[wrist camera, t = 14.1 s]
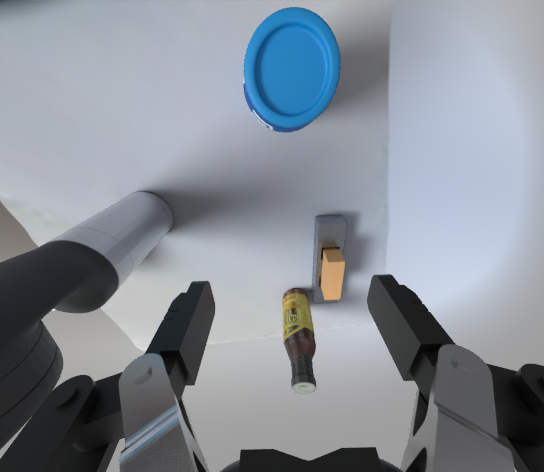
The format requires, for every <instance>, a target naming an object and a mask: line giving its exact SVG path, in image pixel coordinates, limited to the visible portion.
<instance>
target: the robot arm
mask: <svg viewBox="0 0 544 472" xmlns="http://www.w3.org/2000/svg"><path fill="white" fill-rule="evenodd" d="M172 225H173V214H172V212H171V209H170V208H169V206H168V205H167V204H166V203H165V201H164V200H162V199H161V198H160V197H158V196H156V195H154V194H152V193H148V192H136V193H133V194H131V195H129V196H127V197H126V198H124V199H122V200H120V201H118V202H117V203H115V204H113V205H111V206H110V207H108V208H106V209H104V210H103V211H101V212H99V213H97V214H96V215H94V216H92V217H91V218H89V219H87V220H85V221H84V222H82V223H80V224H78V225H77V226H75V227H73V228H71V229H70V230H68V231H66V232H65V233H63V234H61V235H60V236H58V237H56V238H54V239H53V240H51V241H49V242H47V243H46V244H44V245H42V246H40V247H39V248H37V249H35V250H32V251H30V252H27V253H24V254H21V255H19V256H16V257H14V258H11V259H8V260H6V261H3V262H1V263H0V449H1V448H2V447H3V446H4V445H5V444H6V443H7V442H8V441H9V440H10V439H11V438H12V437H13V436H14V435H15V434H16V433H17V432H18V431H19V430H20V429H21V428H22V426H24V424H25V423H26V422H27V421H28V420H29V419H30V418H31V419H30V420H29V421H28V423H27V424H26V425H25V427H24V428H23V429H22V431H21V432H20V433H19V435H18V436H17V438H16V439H15V440H14V441H13V443H12V444H11V445H10V447H9V448H8V450H7V451H6V452H5V454H4V455H3V456H2V458H1V459H0V472H106V470H107V468H108V465H109V463H110V460H111V458H112V456H113V453H114V451H115V449H116V446H117V444H118V442H119V440H120V439H122V438H125V449H124V450H123V451H122V452H121V455H120V472H209V470H208V467H207V464H206V462H205V459H204V456H203V454H202V452H201V449H200V447H199V444H198V442H197V439H196V436H195V433H194V430H193V427H192V424H191V421H190V418H189V416H188V413H187V410H186V407H185V404H184V401H183V398H182V394H183V391H184V388H185V385H195V381H196V378H197V374H198V371H199V367H200V364H201V360H202V356H203V353H204V350H205V346H206V343H207V339H208V336H209V332H210V329H211V325H212V322H213V318H214V315H215V302H214V298H213V294H212V290H211V286H210V283H209V281H195V282H192V283H191V285H190V287H189V289H188V291H187V293H181V294H180V295H178V296H177V297H176V298H175V299H174V300H173V302H172V303H171V305H170V307H169V309H168V312H167V313H166V315H165V317H164V320H163V321H162V322H161V324H160V326H159V328H158V330H157V332H156V334H155V336H154V338H153V339H152V341H151V343H150V345H149V347H148V349H147V351H146V352H145V354H144V355H142V356H140V357H138V358H137V359H135V360H134V361H132V362H131V363H130V364H129V365H128V366H127V367H126V368H125V370H124V371H123V372H121V373H119V374H116V375H113V376H110V377H107V378H104V379H101V380H98V381H96V382H94V381H93V380H92V378H91V377H89V376H87V375H79V376H75V377H73V378H70V379H69V380H66V381H65V382H63V383H62V384H60V385H59V386H58V387H56V388H55V389H54V387H55V385H56V383H57V382H58V380H59V378H60V375H61V372H62V369H63V357H62V353H61V351H60V349H59V347H58V346H57V344H56V343H55V341H54V339H53V338H52V336H51V335H50V333H49V332H48V330H47V329H46V327H45V325H44V324H43V322H42V321H41V319H42V318H43V317H44V316H45V315H46V314H47V313H49V312H50V311H51V310H52V309H55V310H58V311H63V312H69V313H86V312H91V311H94V310H96V309H98V308H100V307H101V306H103V305H104V304H105V303H106V302H107V301H108V300H109V299H110V297H111V296H112V295H113V294H114V293H115V292H116V290H117V289H118V288H119V287H120V286H121V285H122V284H123V282H124V281H125V280H126V279H127V278H128V277H129V276H130V274H131V273H132V272H133V271H134V270H135V269H136V268H137V266H138V265H139V264H140V263H141V262H142V261H143V260H144V258H145V257H146V256H147V255H148V254H149V253H150V252H151V251H152V249H153V248H154V247H155V246H156V245H157V244H158V243H159V241H160V240H161V239H162V238H163V237H164V236H165V235H166V234H167V232H168V231H169V230H170V229H171V227H172ZM367 304H368V308H369V311H370V313H371V315H372V317H373V319H374V321H375V323H376V325H377V327H378V329H379V331H380V333H381V335H382V338H383V340H384V342H385V344H386V346H387V348H388V350H389V352H390V354H391V356H392V358H393V360H394V362H395V364H396V366H397V368H398V370H399V372H400V374H401V376H402V378H403V380H404V381H415V382H416V384H417V386H418V389H417V392H416V398H415V404H414V410H413V416H412V422H411V428H410V434H409V439H408V444H407V446H406V449H405V452H404V456H403V459H402V463H401V468H400V469H399V468H397V467H395V466H394V465H392V464H390V463H388V462H386V461H384V460H382V459H379V457H378V454H377V451H376V448H375V447H368V448H341V449H338V450H336V451H334V452H331V453H329V454H326V455H324V456H321V457H319V458H316V459H314V460H311V461H307V460H303V459H300V458H298V457H294V456H292V455H289V454H286V453H283V452H280V451H277V450H274V449H260V450H259V449H257V450H256V449H255V450H241V453H240V460H238V461H236V462H234V463H232V464H230V465H229V466H227V467H226V468H224V469H223V470H222V471H220V472H515V469H516V470H517V472H544V366H541V365H537V364H525V365H524V366H522V367H521V368H520V369H519V370H518V372H517V371H513V370H509V369H505V368H501V367H497V366H493V365H489V364H486V363H485V362H484V361H483V360H482V359H481V358H480V357H479V356H477V355H476V354H474V353H473V352H471V351H470V350H468V349H466V348H463V347H461V346H458V345H456V344H455V343H454V342H453V340H452V339H451V338H450V337H449V336H448V334H447V333H446V332H445V330H444V329H443V328H442V327H441V325H440V324H439V323H438V322H437V321H436V319H435V318H434V316H433V315H432V314H431V313H430V312H429V311H428V309H427V308H426V306H425V305H424V304H422V302H421V300H420V299H419V298H418V296H417V295H416V294H415V293H414V292H413V291H412V290H410V289H409V288H407V287H406V286H405V285H399V284H398V282H397V281H396V280H395V278H394V277H393V276H392V275H389V274H387V275H374V276H373V277H372V280H371V285H370V289H369V293H368V298H367ZM53 389H54V390H53ZM52 390H53V391H52ZM514 467H515V469H514Z"/></svg>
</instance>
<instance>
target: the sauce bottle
mask: <svg viewBox="0 0 544 472" xmlns="http://www.w3.org/2000/svg"><path fill="white" fill-rule="evenodd" d="M282 308H283V336H284V345H285V347H286V350H287V353H288V356H289V358H290V361H291V367H292V380H291V383H292V390H293V391H294V392H296V393H298V394H308V393H312V392H314V391H315V390H316V381H315V378H314V375H313V368H312V358H313V356H314V354H315V349H316V344H315V340H314V329H313V323H312V317H311V311H310V305H309V300H308V297H307V294H306V293H305V292H304V291H303V290H300V289H291V290H289V291H287V292H286V293H285V294H284V297H283V301H282Z"/></svg>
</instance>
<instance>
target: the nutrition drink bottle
mask: <svg viewBox="0 0 544 472" xmlns="http://www.w3.org/2000/svg"><path fill="white" fill-rule="evenodd" d="M244 62H245V63H244V77H243V85H244V93H245V97H246V101H247V103H248V106H249V108H250V110H251V112H252V113H253V115H254V116H255V117H256V119H257V120H258V121H259V122H260V123H262V124H263V125H264V126H266V127H267V128H269V129H271V130H274V131H278V132H293V131H297V130H299V129H302V128H303V127H305V126H307V125H308V124H309V123H311V122H312V121H313V120H314V119H316V118H317V117H318V116H320V114H321V113H323V111H324V110H325V109H326V107H327V106H328V105H329V103H330V102H331V100H332V98H333V96H334V94H335V91H336V88H337V85H338V81H339V76H340V53H339V48H338V44H337V41H336V38H335V36H334V34H333V32H332V30H331V29H330V27H329V26H328V24H327V23H326V22H325V21H324V20H323V19H322V18H321V17H320V16H319V15H317V14H316V13H314V12H312V11H310V10H307V9H304V8H299V7H290V8H285V9H282V10H279V11H277V12H275V13H273V14H271V15H270V16H269V17H267V18H266V19H265V20H264V21H263V22H262V23H261V24H260V25H259V27H258V28H257V29H256V31H255V32H254V34H253V36H252V38H251V40H250V42H249V44H248V48H247V52H246V55H245V60H244Z"/></svg>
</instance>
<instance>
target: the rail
mask: <svg viewBox="0 0 544 472" xmlns="http://www.w3.org/2000/svg"><path fill="white" fill-rule="evenodd" d="M346 228H347V222H346V221H345V219H344V218H343V216H342V215H330V216H316V218H315V237H314V256H313V275H312V297H313V301H314V304H321V303H336V302H337V300H324V296H323V293H322V289H321V279H320V276H321V275H322V263H323V252H322V248H323V247H336V248H337V249H339V250H340V252H341V254H342V256H343V250H344V243H345V235H346Z"/></svg>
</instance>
